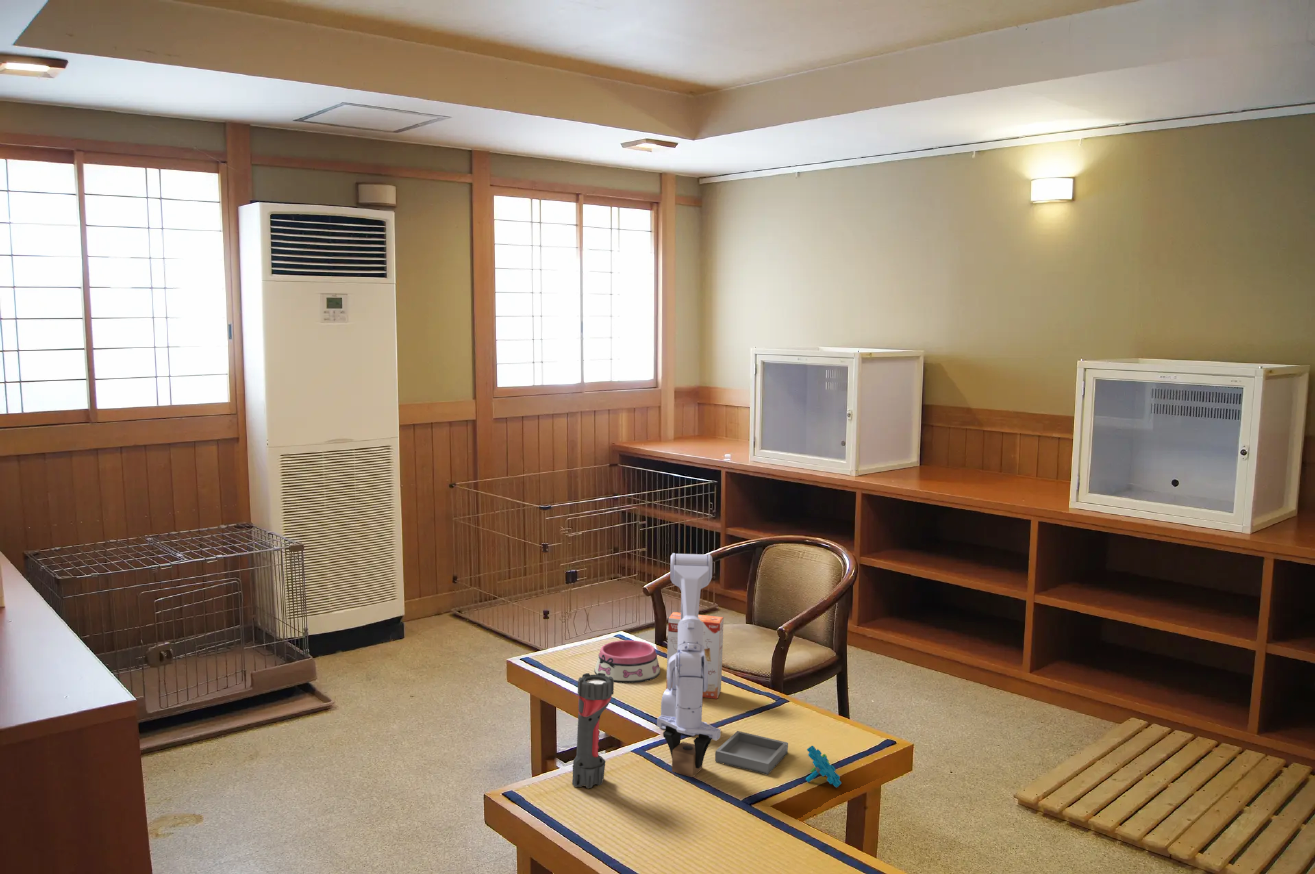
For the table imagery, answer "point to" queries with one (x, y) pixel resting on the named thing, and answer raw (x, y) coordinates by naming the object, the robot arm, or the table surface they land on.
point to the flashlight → (590, 728)
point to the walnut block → (684, 759)
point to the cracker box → (711, 647)
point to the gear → (822, 767)
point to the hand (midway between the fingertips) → (687, 763)
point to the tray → (751, 752)
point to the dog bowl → (628, 661)
